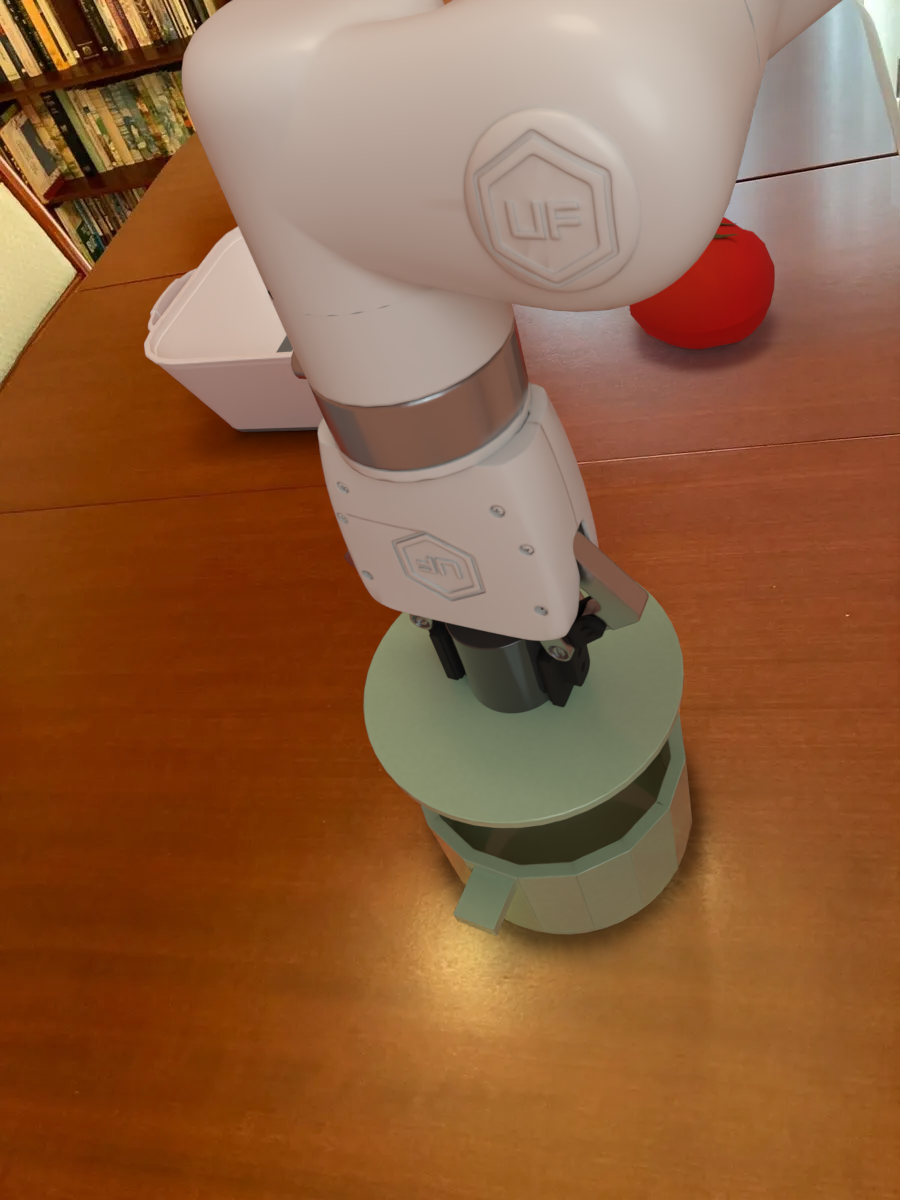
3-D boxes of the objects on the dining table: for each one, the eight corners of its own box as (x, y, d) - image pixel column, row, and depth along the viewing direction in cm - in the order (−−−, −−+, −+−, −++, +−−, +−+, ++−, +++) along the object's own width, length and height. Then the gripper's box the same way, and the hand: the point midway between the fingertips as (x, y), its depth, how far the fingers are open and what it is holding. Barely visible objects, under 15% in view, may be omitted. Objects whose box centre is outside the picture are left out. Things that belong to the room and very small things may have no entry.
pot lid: (722, 595, 47) (720, 505, 42) (623, 882, 38) (606, 813, 33) (448, 546, 54) (419, 465, 49) (315, 778, 46) (263, 708, 41)
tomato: (794, 304, 84) (799, 198, 77) (744, 384, 79) (744, 277, 71) (664, 290, 91) (656, 191, 83) (610, 362, 86) (596, 263, 78)
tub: (158, 466, 94) (92, 367, 84) (254, 318, 109) (208, 220, 100) (456, 463, 82) (418, 347, 72) (517, 297, 97) (492, 183, 88)
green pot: (729, 708, 59) (727, 631, 52) (631, 1022, 48) (614, 973, 42) (516, 659, 66) (492, 586, 59) (390, 924, 55) (345, 869, 49)
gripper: (186, 427, 34) (344, 691, 47) (615, 483, 26) (657, 778, 39) (286, 311, 37) (406, 586, 51) (686, 330, 30) (703, 647, 43)
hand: (515, 667), depth 45 cm, fingers closed on pot lid, 5 cm apart
